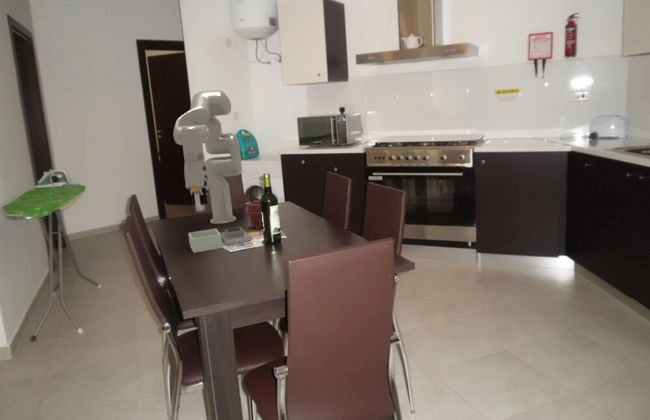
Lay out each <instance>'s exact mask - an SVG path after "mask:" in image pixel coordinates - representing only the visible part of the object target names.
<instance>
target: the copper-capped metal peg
mask: <svg viewBox="0 0 650 420" xmlns="http://www.w3.org/2000/svg"><path fill="white" fill-rule="evenodd" d="M203 189H204V188H202V190H203ZM192 192H194V197H195V211H196V213H197V212H198V213H201V212H205V211H206V204H205V205H201V204H200V197H199V195H200V191H199V187H192Z"/></svg>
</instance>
